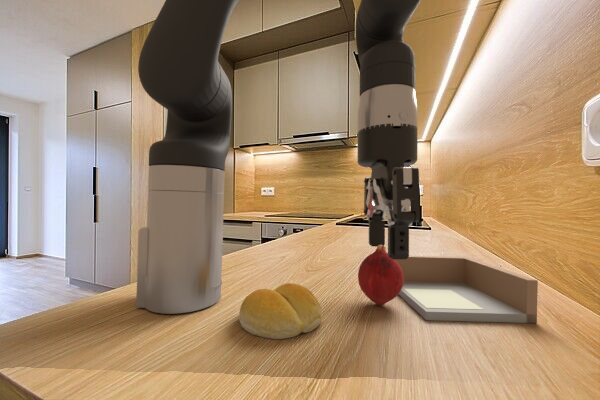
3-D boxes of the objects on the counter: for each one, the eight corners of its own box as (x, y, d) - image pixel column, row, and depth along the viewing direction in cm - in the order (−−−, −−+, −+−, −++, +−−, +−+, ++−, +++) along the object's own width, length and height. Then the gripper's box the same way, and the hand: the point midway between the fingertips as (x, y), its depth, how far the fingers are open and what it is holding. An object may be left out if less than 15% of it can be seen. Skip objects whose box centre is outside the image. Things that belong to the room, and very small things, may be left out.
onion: (406, 317, 31) (408, 250, 31) (357, 311, 33) (359, 247, 33) (398, 299, 37) (400, 243, 37) (357, 295, 38) (358, 240, 38)
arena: (426, 320, 31) (427, 277, 31) (388, 284, 44) (389, 254, 44) (536, 323, 31) (537, 280, 31) (466, 287, 44) (466, 257, 44)
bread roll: (230, 317, 31) (231, 282, 31) (296, 303, 35) (297, 273, 35) (255, 352, 24) (256, 308, 24) (334, 330, 28) (335, 293, 28)
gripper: (348, 141, 42) (347, 243, 42) (373, 110, 28) (372, 264, 28) (395, 141, 42) (394, 243, 42) (444, 111, 28) (444, 264, 28)
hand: (386, 251), depth 35 cm, fingers open, 8 cm apart
